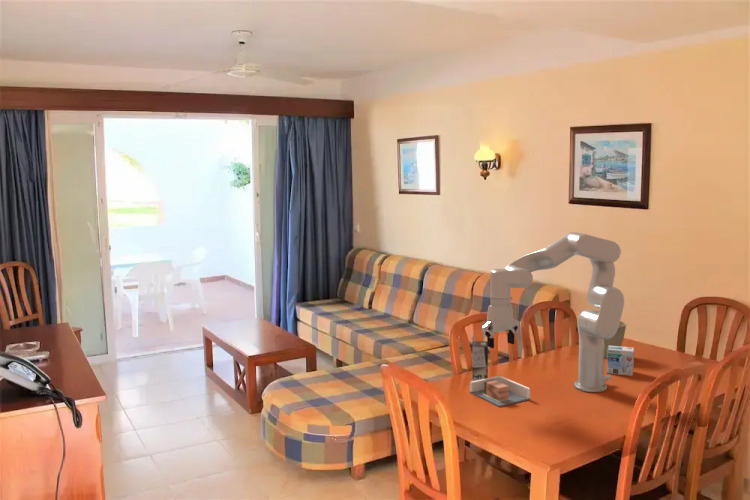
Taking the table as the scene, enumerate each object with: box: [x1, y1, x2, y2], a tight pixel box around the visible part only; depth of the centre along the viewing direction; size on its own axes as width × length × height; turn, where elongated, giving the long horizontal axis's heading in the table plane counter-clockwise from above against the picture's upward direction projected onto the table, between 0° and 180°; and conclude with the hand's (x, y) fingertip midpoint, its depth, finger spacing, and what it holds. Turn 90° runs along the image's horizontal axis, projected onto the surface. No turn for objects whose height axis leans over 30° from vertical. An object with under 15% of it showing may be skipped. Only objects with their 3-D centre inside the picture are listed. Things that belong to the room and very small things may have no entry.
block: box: [484, 380, 509, 401], centre depth 249 cm, size 9×4×5 cm, turn 29°
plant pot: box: [603, 320, 627, 359], centre depth 299 cm, size 15×15×16 cm
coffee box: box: [471, 340, 489, 381], centre depth 268 cm, size 9×6×16 cm
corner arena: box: [469, 374, 531, 408], centre depth 251 cm, size 15×18×4 cm
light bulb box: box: [606, 345, 635, 377], centre depth 276 cm, size 11×7×11 cm, turn 68°
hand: (500, 345), depth 246 cm, fingers open, 9 cm apart
